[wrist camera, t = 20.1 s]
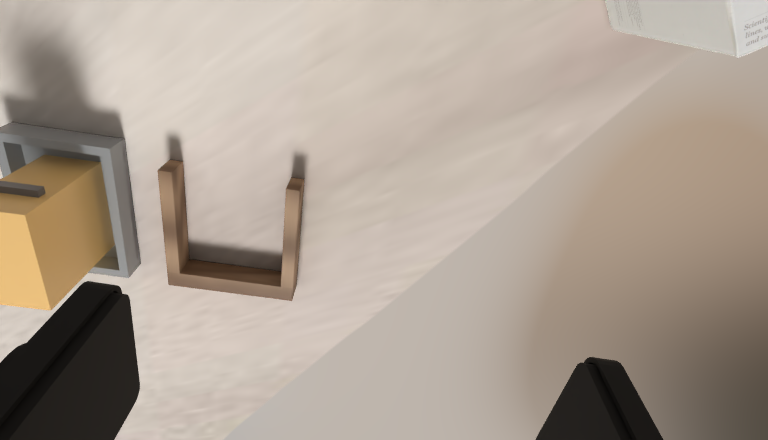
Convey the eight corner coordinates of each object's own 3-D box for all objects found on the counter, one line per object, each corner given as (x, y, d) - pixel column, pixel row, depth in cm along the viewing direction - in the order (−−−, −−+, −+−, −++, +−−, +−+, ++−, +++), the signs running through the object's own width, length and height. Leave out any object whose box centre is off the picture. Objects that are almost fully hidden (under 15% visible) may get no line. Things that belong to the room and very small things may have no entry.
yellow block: (42, 148, 42) (-50, 198, 33) (99, 156, 42) (22, 208, 33) (63, 238, 46) (-13, 303, 38) (114, 244, 47) (50, 310, 38)
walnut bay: (169, 159, 43) (157, 170, 41) (304, 179, 43) (299, 191, 41) (178, 270, 49) (168, 284, 47) (296, 285, 50) (291, 300, 47)
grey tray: (11, 122, 41) (-10, 131, 39) (124, 138, 42) (109, 148, 40) (44, 250, 48) (27, 264, 46) (140, 263, 49) (128, 278, 46)
